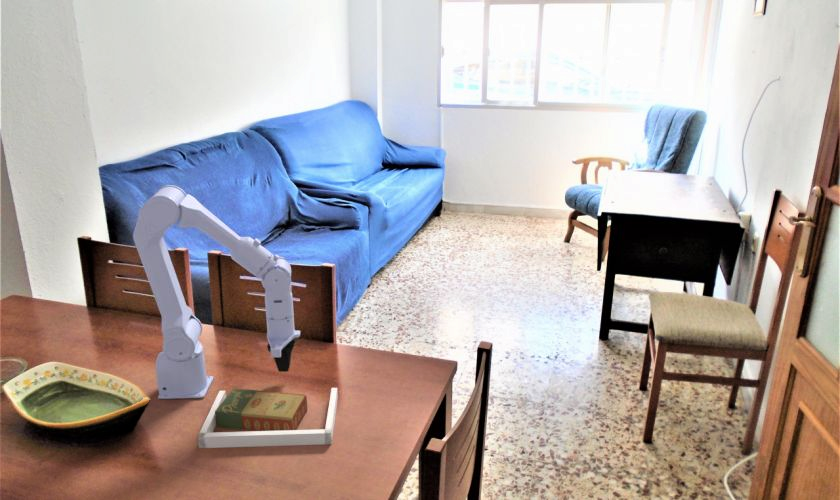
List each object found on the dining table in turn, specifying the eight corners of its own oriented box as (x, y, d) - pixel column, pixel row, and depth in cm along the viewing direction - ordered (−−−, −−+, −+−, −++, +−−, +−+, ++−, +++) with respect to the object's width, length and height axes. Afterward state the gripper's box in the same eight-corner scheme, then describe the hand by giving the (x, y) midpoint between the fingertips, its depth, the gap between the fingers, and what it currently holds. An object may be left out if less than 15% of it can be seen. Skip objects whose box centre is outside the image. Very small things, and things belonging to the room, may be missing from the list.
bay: (199, 448, 108) (197, 437, 108) (220, 400, 123) (219, 390, 122) (331, 444, 110) (330, 433, 109) (337, 397, 124) (337, 387, 123)
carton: (293, 436, 112) (291, 418, 111) (215, 428, 115) (212, 410, 113) (308, 411, 120) (306, 393, 119) (234, 403, 122) (232, 386, 121)
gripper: (293, 329, 118) (297, 387, 123) (303, 300, 132) (306, 353, 136) (258, 330, 118) (263, 388, 122) (271, 300, 132) (275, 353, 136)
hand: (284, 369), depth 129 cm, fingers closed
